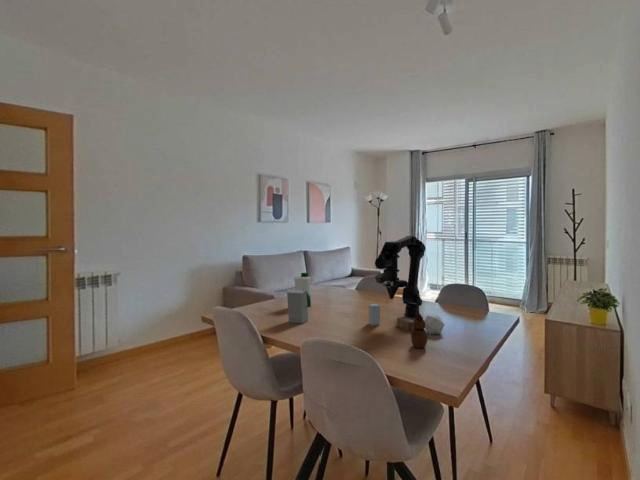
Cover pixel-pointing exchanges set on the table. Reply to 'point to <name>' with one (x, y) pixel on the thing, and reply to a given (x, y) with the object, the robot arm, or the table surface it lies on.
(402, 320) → the walnut block
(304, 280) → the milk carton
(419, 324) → the wooden figurine
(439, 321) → the die
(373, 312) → the blue-grey block
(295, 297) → the skincare box
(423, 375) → the table surface
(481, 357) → the table surface
